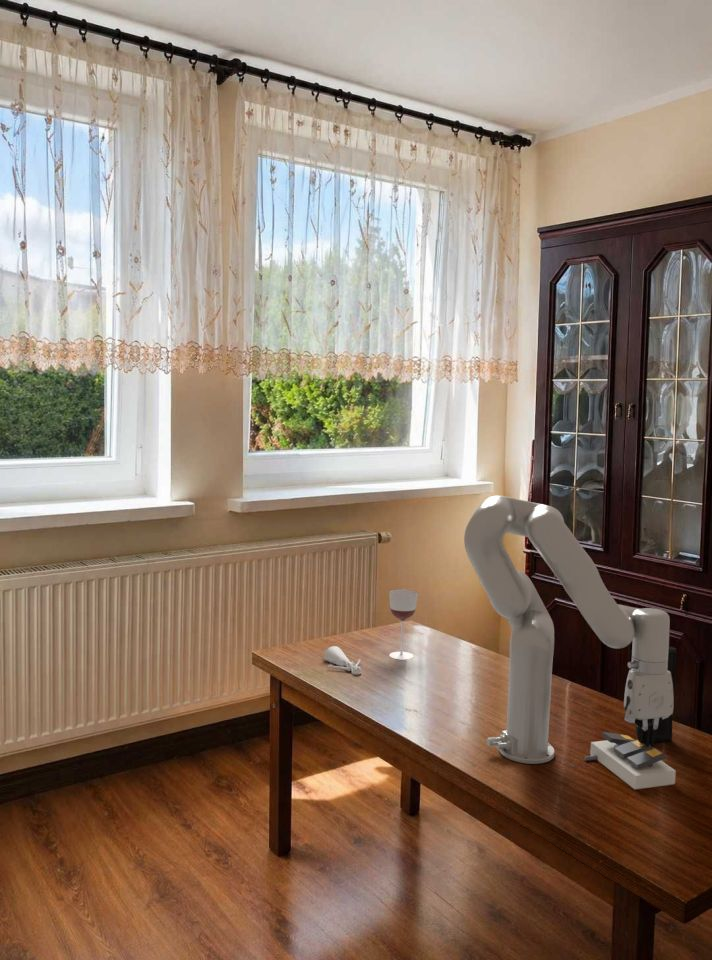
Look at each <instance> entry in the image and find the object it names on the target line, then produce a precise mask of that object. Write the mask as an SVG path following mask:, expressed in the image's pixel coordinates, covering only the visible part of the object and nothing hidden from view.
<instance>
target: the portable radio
mask: <svg viewBox="0 0 712 960" xmlns="http://www.w3.org/2000/svg"><path fill="white" fill-rule="evenodd" d="M669 638H670V635H669ZM676 665H677V648H675V647H673V646H670V645H669V649H668V669H667V670H668V671H670V673H671V677H672V683H673V698H674V699H675V696H674V695H675V684H676V683H675V680H676ZM673 715H674V712H673V713H672V714H671V715H670V716H669V717H668V718H665V719H662V720H661V722H660V723H659V724H658V728H657V729H656V730H655V740H654V743H661V742H671V741H672V740H673V719H674V718H673V717H674V716H673ZM635 734H636V736H638V726H636V725H635Z"/></svg>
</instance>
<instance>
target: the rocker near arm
mask: <svg viewBox="0 0 712 960" xmlns="http://www.w3.org/2000/svg"><path fill="white" fill-rule="evenodd" d="M601 737H602V738H604V739H605V741H606V740H608V741H609V742H610V743H615V744H617V745H618V746H619V745H622V744H625V743H628V742H631V741H634V740H635V739H634V738H632V737H631V736H629V735H627V734H621V733H613V732H606V731H602V733H601Z"/></svg>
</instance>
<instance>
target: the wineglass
mask: <svg viewBox="0 0 712 960" xmlns="http://www.w3.org/2000/svg"><path fill="white" fill-rule="evenodd" d="M418 594H419V593H418V591H415V590H412V589H406V588H403V589H402V588H401V589H399V588H398V589H393V590H390V591H389V596H388V597H389V598H388V599H389V605H390V612H391V614H392V616H394V618H397V619H398V620H400V621H401V622H400V623H401V624H400V625H401V626H400V651H394V652H390V653H389V657H390V658H392V659H396V660H401V661H402V660H411V659H413V658H415V657H414V654H413V653H411V652H408V651H407V652H406V651H404V633H405V632H404V629H405V628H404V627H405V621H406V620H407V619H409V618H412V617H413V615H414V614H415V612H416V608H417V603H418V596H419V595H418Z"/></svg>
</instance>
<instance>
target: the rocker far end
mask: <svg viewBox="0 0 712 960" xmlns="http://www.w3.org/2000/svg"><path fill="white" fill-rule="evenodd" d="M627 759H628V762H629V763H630V764H632V765H633V766H634V767H636V768H637V769H639V768H642V767H645V766H649V767H652V766H653V763H655V762H658V761H663V760H666V754H665V753H664V752H662V751H661V750H659V749H658V748H656V747H651V749H649V750H646V751H643V752H641V753H638V754H635V755H633V756H630V757H627Z"/></svg>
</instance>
